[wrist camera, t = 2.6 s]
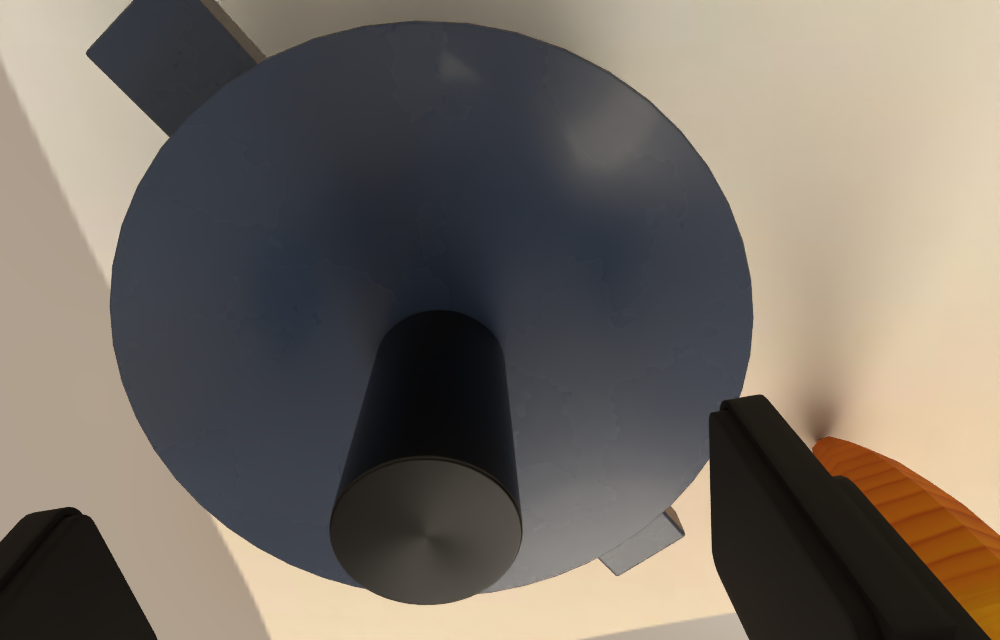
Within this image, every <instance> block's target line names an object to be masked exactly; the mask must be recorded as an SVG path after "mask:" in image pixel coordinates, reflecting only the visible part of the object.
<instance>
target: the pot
mask: <svg viewBox="0 0 1000 640" xmlns="http://www.w3.org/2000/svg"><path fill="white" fill-rule="evenodd" d="M86 55H87V56H88V57H89V58H90V59H91V60H92V61H93V62H94V63H95V64H96V65H97V66H98V67H99V68H100V69H101V70H102V71H103V72H104V73H105V74H106V75H107V76H108V77H109V78H110V79H111V80H112V81H113V82H114V83H115V84H116V85H117V86H118V87H119V88H120V89H121V90H122V91H123V92H124V93H125V94H126V95H127V96H128V97H129V98H130V99H131V100H132V101H133V102H134V103H135V104H136V105H137V106H138V107H139V108H140V109H141V110H142V111H143V112H145V113H146V114H147V115H148V116H149V117H150V118H151V119H152V120H153V121H154V122H155V123H156V124H157V125H158V126H159V127H160V128H161V129H162V130H163V131H164V132H165V133H166V134H167V135H168V136H169V137H171V136H172V134H173V133H174V132H175V131H176V130H177V129H178V127H179V126H180V125H181V124H182V123H183V122H184V120H185V119H186V118H187V117H188V116H189V115H190V113H192V112H193V111H194V110H195V109H196V108H198V107H199V106H200V105H201V104H202V103H203V102H205V101H206V100H207V99H208V98H209V97H210V96H212V95H213V94H214V93H215V92H216V91H218V90H219V89H220V88H221V87H222V86H223V85H225V84H226V83H227V82H229V81H230V80H232V79H234V78H235V77H237V76H239V75H240V74H242V73H244V72H245V71H247V70H249V69H250V68H252V67H253V66H255V65H257V64H258V63H260V62H262V61H263V60H265V59H267V58H266V56H265V55H264V54H263V53H262V52H261V51H260V50H259V49H258V48H257V46H256V45H255V44H254V43H253V42H252V41H251V40H250V39H249V38H248V36H247V35H246V34H245V33H244V32H243V31H242V30H241V29H240V28H239V26H238V25H237V24H236V23H235V22H234V21H233V20H232V19H231V18H230V16H229V15H228V14H227V13H226V12H225V11H224V10H223V9H222V8H221V6H220V5H219V4H218V3H217V2H216V1H215V0H133V1H132V2H131V3H130V4H129V5H128V6H127V7H126V9H125V10H124V11H123V12H122V13H121V14H120V15H119V16H118V17H117V18H116V19H115V21H114V22H113V23H112V24H111V25H110V26H109V27H108V28H107V29H106V30H105V31H104V33H103V34H102V35H101V36H100V37H99V38H98V39H97V40H96V41H95V42H94V43H93V45H92V46H91V47H90V48H89V49H88V50H87V52H86ZM684 536H685V532H684V530H683V528H682V525H681V523H680V521H679V518H678V516H677V514H676V512H675V511H674V509H673V508H672V507H671V506H670V507H668V508H667V509H666V510H665V511H664V512H663V513H662V514H660V515H659V516H658V517H657V518H656V519H655V520H653V521H652V522H651V523H650V524H649V525H648V526H647V527H645V528H644V529H643V530H641V531H640V532H638V533H637V534H635V535H634V536H632V537H631V538H630V539H628V540H627V541H625V542H624V543H622V544H621V545H619V546H618V547H616V548H614V549H613V550H611V551H609V552H607V553H605V554H603V555H602V556H600V557H598V559H599V560H600V561H601V562H603V563H604V564H605V565H606V566H607V567H608V568H609V569H610V570H611V571H612V572H613V573H614V574H615V575H616V576H619V575H621V574H623V573H624V572H626V571H628V570H629V569H631V568H633V567H634V566H636V565H638V564H639V563H641V562H643V561H644V560H646V559H648V558H649V557H651V556H653V555H654V554H656V553H658V552H659V551H661V550H663V549H664V548H666V547H668V546H669V545H671V544H673V543H674V542H676V541H678V540H679V539H681V538H683V537H684Z"/></svg>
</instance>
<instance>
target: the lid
mask: <svg viewBox="0 0 1000 640" xmlns="http://www.w3.org/2000/svg"><path fill="white" fill-rule="evenodd" d="M110 314H111V327H112V338H113V347H114V351H115V355H116V359H117V363H118V368H119V371H120V376H121V380H122V383H123V386H124V388H125V391H126V393H127V396H128V398H129V401H130V404H131V406H132V409H133V411H134V414H135V416H136V418H137V420H138V422H139V424H140V426H141V427H142V429H143V431H144V433H145V434H146V436H147V438H148V440H149V442H150V443H151V445H152V447H153V449H154V450H155V452H156V453H157V454H158V456H159V457H160V458H161V460H162V461H163V462H164V464H165V465H166V466H167V468H168V469H169V470H170V472H171V473H172V474H173V476H174V477H175V478H176V480H177V481H178V482H179V483H180V484H181V485H182V486H183V487H184V488H185V489H186V490H187V491H188V492H189V493H190V494H191V496H193V497H194V498H195V500H196V501H197V502H198V503H199V504H200V505H201V506H202V507H203V508H205V509H206V510H207V511H208V512H209V513H211V514H212V515H213V516H214V517H215V518H217V519H218V520H219V521H220V522H221V523H223V524H224V525H225V526H226V527H227V528H229V529H230V530H232V531H233V532H235V533H236V534H238V535H239V536H241V537H242V538H244V539H245V540H247V541H248V542H250V543H251V544H253V545H254V546H256V547H257V548H259V549H261V550H263V551H265V552H267V553H269V554H271V555H272V556H274V557H276V558H278V559H280V560H282V561H284V562H286V563H288V564H290V565H292V566H295V567H297V568H300V569H302V570H305V571H307V572H310V573H312V574H315V575H317V576H320V577H323V578H326V579H330V580H333V581H337V582H340V583H344V584H347V585H351V586H354V587H359V588H364V589H367V590H369V591H371V592H373V593H375V594H377V595H379V596H382V597H384V598H387V599H390V600H394V601H397V602H402V603H408V604H417V605H437V604H446V603H451V602H456V601H459V600H463V599H466V598H469V597H471V596H473V595H476V594H481V593H491V592H496V591H501V590H506V589H511V588H516V587H521V586H525V585H529V584H532V583H535V582H539V581H542V580H545V579H548V578H552V577H555V576H558V575H560V574H563V573H565V572H567V571H570V570H572V569H575V568H577V567H579V566H582V565H584V564H587V563H589V562H591V561H592V560H594V559H596V558H598V557H600V556H602V555H603V554H605V553H607V552H609V551H611V550H613V549H614V548H616V547H618V546H619V545H621V544H622V543H624V542H625V541H627V540H628V539H630V538H631V537H632V536H634V535H635V534H637V533H638V532H640V531H641V530H643V529H644V528H645V527H647V526H648V525H649V524H650V523H651V522H652V521H653V520H655V519H656V518H657V517H658V516H659V515H660V514H662V513H663V512H664V511H665V510H666V509H667V508H668V507H670V506H671V505H672V504H673V502H674V501H675V500H676V499H677V498H678V497H679V496H680V495H681V494H682V493H683V492H684V490H685V489H686V488H687V487H688V486H689V485H690V484H691V483H692V482H693V481H694V479H695V478H696V476H697V475H698V474H699V472H700V471H701V469H702V468H703V467H704V465H705V464H706V462H707V461H708V460H709V458H710V454H709V415H710V413H711V412H717V411H720V405H721V402H722V401H723V400H729V399H735V398H739V397H740V394H741V391H742V388H743V384H744V379H745V375H746V371H747V366H748V362H749V358H750V351H751V340H752V328H753V303H752V287H751V277H750V272H749V267H748V263H747V258H746V253H745V248H744V244H743V240H742V237H741V235H740V232H739V229H738V227H737V224H736V221H735V218H734V216H733V213H732V210H731V208H730V205H729V203H728V201H727V199H726V197H725V195H724V194H723V192H722V190H721V188H720V186H719V185H718V183H717V181H716V179H715V177H714V176H713V174H712V172H711V170H710V168H709V167H708V165H707V164H706V163H705V161H704V160H703V159H702V157H701V156H700V155H699V154H698V152H697V151H696V150H695V148H694V147H693V146H692V144H691V143H690V142H689V141H688V139H687V138H686V137H685V135H684V134H683V133H682V131H681V130H680V129H678V128H677V127H676V126H675V125H674V124H673V123H672V122H671V121H670V120H669V119H668V118H667V117H666V116H665V115H664V114H663V113H662V112H661V111H660V110H659V109H658V108H657V107H656V106H655V105H654V104H653V103H651V102H650V101H649V100H648V99H647V98H646V97H644V96H643V95H641V94H640V93H639V92H637V91H636V90H634V89H633V88H632V87H630V86H629V85H627V84H626V83H625V82H623V81H622V80H620V79H619V78H618V77H616V76H615V75H613V74H612V73H611V72H609V71H607V70H605V69H603V68H601V67H599V66H597V65H596V64H594V63H592V62H590V61H588V60H586V59H584V58H582V57H580V56H578V55H576V54H574V53H572V52H570V51H568V50H566V49H564V48H561V47H558V46H555V45H552V44H549V43H546V42H544V41H541V40H538V39H535V38H532V37H529V36H526V35H523V34H520V33H517V32H512V31H507V30H501V29H496V28H491V27H486V26H480V25H475V24H470V23H456V22H434V21H407V22H397V23H387V24H377V25H367V26H361V27H357V28H353V29H349V30H345V31H341V32H337V33H333V34H329V35H325V36H321V37H317V38H314V39H311V40H309V41H307V42H304V43H302V44H299V45H297V46H295V47H292V48H290V49H287V50H285V51H283V52H280V53H278V54H275V55H273V56H271V57H268V58H267V59H265V60H263V61H262V62H260V63H258V64H257V65H255V66H253V67H252V68H250V69H249V70H247V71H245V72H244V73H242V74H240V75H239V76H237V77H235V78H234V79H232V80H230V81H229V82H227V83H226V84H225V85H223V86H222V87H221V88H220V89H219V90H218V91H216V92H215V93H214V94H213V95H212V96H210V97H209V98H208V99H207V100H206V101H205V102H203V103H202V104H201V105H200V106H199V107H198V108H196V109H195V110H194V111H193V112H192V113H190V115H189V116H188V117H187V118H186V119H185V120H184V122H183V123H182V124H181V125H180V126H179V127H178V129H177V130H176V131H175V132H174V133H173V134H172V136H171V137H170V138H169V139H168V140H167V141H166V143H165V144H164V145H163V146H162V147H161V148H160V150H159V152H158V153H157V155H156V157H155V158H154V160H153V162H152V163H151V165H150V166H149V168H148V170H147V171H146V173H145V175H144V176H143V178H142V180H141V181H140V183H139V185H138V186H137V189H136V191H135V194H134V196H133V199H132V201H131V204H130V206H129V208H128V211H127V213H126V216H125V218H124V221H123V223H122V226H121V230H120V235H119V239H118V244H117V248H116V252H115V257H114V261H113V265H112V279H111V294H110Z"/></svg>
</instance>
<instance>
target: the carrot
mask: <svg viewBox="0 0 1000 640" xmlns="http://www.w3.org/2000/svg"><path fill="white" fill-rule="evenodd" d="M813 454H814V455H815V457H816V458H817V459H818V460H819V461H820V462H821V464H822V465H823V466H824V467H825V468H826V470H827V471H828V472H829V473H830V474H831V476H838V475H842V476H844V477H847V478H849V479H850V480H851V481H852V482H853V483H854V484H855V485H856V486H857V487H858V488H859V489H860V490H861V491H862V492H863V494H864V495H865V496H866V497H867V498H868V499H869V500H870V502H871V503H872V504H873V505H874V506H875V507H876V508H877V510H878V511H879V512H880V513H881V514H882V515H883V516H884V518H885V519H886V520H887V521H888V522H889V523H890V524H891V526H892V527H893V528H894V529H895V530H896V531H897V532H898V534H899V535H900V536H901V537H902V538H903V539H904V540H905V542H906V543H907V544H908V545H909V546H910V547H911V548H912V550H913V551H914V552H915V553H916V554H917V555H918V556H919V557H920V559H921V560H922V561H923V562H924V563H925V564H926V565H927V567H928V568H929V569H930V570H931V571H932V572H933V573H934V575H935V576H936V577H937V578H938V579H939V580H940V581H941V583H942V584H943V585H944V586H945V587H946V588H947V589H948V591H949V592H950V593H951V594H952V595H953V596H954V597H955V599H956V600H957V601H958V602H959V603H960V604H961V605H962V607H963V608H964V609H965V610H966V611H967V612H968V613H969V615H970V616H971V617H972V618H973V619H974V620H975V621H976V623H977V624H978V625H979V626H980V627H981V628H982V629H983V631H984V632H985V633H986V634H987V635H988V636H989V637H990V639H991V640H1000V535H999V534H997V533H996V532H995V531H994V530H993V529H991V528H990V527H989V526H988V525H987V524H986V523H984V522H983V521H982V520H981V519H980V518H979V517H977V516H976V515H975V514H974V513H973V512H972V511H970V510H969V509H968V508H967V507H966V506H964V505H963V504H962V503H960V502H959V501H957V500H956V499H955V498H953V497H952V496H950V495H949V494H947V493H946V492H944V491H943V490H941V489H940V488H938V487H937V486H935V485H934V484H933V483H931V482H930V481H928V480H926V479H925V478H923V477H922V476H920V475H918V474H917V473H915V472H914V471H912V470H910V469H909V468H907V467H906V466H904V465H902V464H901V463H899V462H897V461H895V460H893V459H890V458H888V457H886V456H883V455H881V454H879V453H876V452H874V451H872V450H870V449H867V448H865V447H862V446H859V445H857V444H854V443H852V442H849V441H845V440H841V439H837V438H833V437H826V438H822V439H819V440H818V442H817V443H816V444H815V445H814V447H813Z"/></svg>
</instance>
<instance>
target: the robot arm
mask: <svg viewBox="0 0 1000 640" xmlns="http://www.w3.org/2000/svg"><path fill="white" fill-rule="evenodd" d="M709 454H710V495H711V535H712V554H713V559H714V563H715V566H716V570H717V572H718V575H719V577H720V579H721V581H722V583H723V585H724V587H725V590H726V592H727V594H728V596H729V598H730V600H731V602H732V604H733V606H734V609H735V611H736V613H737V615H738V617H739V619H740V621H741V623H742V625H743V628H744V629H745V632H746V634H747V636H748V638H749V640H991V639H990V637H989V636H988V635H987V634H986V633H985V632H984V631H983V629H982V628H981V627H980V626H979V625H978V624H977V623H976V621H975V620H974V619H973V618H972V617H971V616H970V615H969V613H968V612H967V611H966V610H965V609H964V608H963V607H962V605H961V604H960V603H959V602H958V601H957V600H956V599H955V597H954V596H953V595H952V594H951V593H950V592H949V591H948V589H947V588H946V587H945V586H944V585H943V584H942V583H941V581H940V580H939V579H938V578H937V577H936V576H935V575H934V573H933V572H932V571H931V570H930V569H929V568H928V567H927V565H926V564H925V563H924V562H923V561H922V560H921V559H920V557H919V556H918V555H917V554H916V553H915V552H914V551H913V550H912V548H911V547H910V546H909V545H908V544H907V543H906V542H905V540H904V539H903V538H902V537H901V536H900V535H899V534H898V532H897V531H896V530H895V529H894V528H893V527H892V526H891V524H890V523H889V522H888V521H887V520H886V519H885V518H884V516H883V515H882V514H881V513H880V512H879V511H878V510H877V508H876V507H875V506H874V505H873V504H872V503H871V502H870V500H869V499H868V498H867V497H866V496H865V495H864V494H863V492H862V491H861V490H860V489H859V488H858V487H857V486H856V485H855V484H854V483H853V482H852V481H851V480H850V479H849V478H847V477H844V476H842V475H838V476H831V474H830V473H829V472H828V471H827V470H826V468H825V467H824V466H823V465H822V464H821V462H820V461H819V460H818V459H817V458H816V457H815V455H814V454H813V453H812V452H811V451H810V449H809V448H808V447H807V446H806V445H805V443H804V442H803V441H802V440H801V439H800V437H799V436H798V435H797V434H796V433H795V431H794V430H793V429H792V428H791V427H790V426H789V424H788V423H787V422H786V421H785V420H784V418H783V417H782V416H781V415H780V414H779V412H778V411H777V410H776V409H775V408H774V406H773V405H772V404H771V403H770V402H769V401H768V399H767V398H766V397H764V396H763V395H753V396H747V397H741V398H735V399H729V400H723V401H722V402H721V405H720V411H717V412H711V413H710V415H709ZM0 640H157V637H156V635H155V633H154V631H153V630H152V627H151V626H150V624H149V622H148V620H147V618H146V616H145V615H144V613H143V611H142V609H141V607H140V606H139V604H138V602H137V600H136V598H135V596H134V594H133V593H132V591H131V589H130V587H129V585H128V583H127V582H126V580H125V578H124V576H123V574H122V573H121V571H120V569H119V567H118V565H117V563H116V561H115V560H114V558H113V556H112V554H111V552H110V550H109V549H108V547H107V545H106V543H105V541H104V539H103V538H102V536H101V534H100V532H99V530H98V528H97V527H96V525H95V523H94V521H93V520H92V519H91V518H90V517H89V516H87V515H83V514H82V513H81V512H80V511H79V510H77V509H76V508H73V507H65V508H59V509H53V510H47V511H41V512H35V513H32V514H28V515H26V516H25V517H24V518H22V519H21V520H20V521H19V522H18V523H17V524H16V525H15V526H14V528H13V529H12V530H11V531H10V532H9V533H8V534H7V535H6V537H4V539H3V540H2V541H1V542H0Z"/></svg>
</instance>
